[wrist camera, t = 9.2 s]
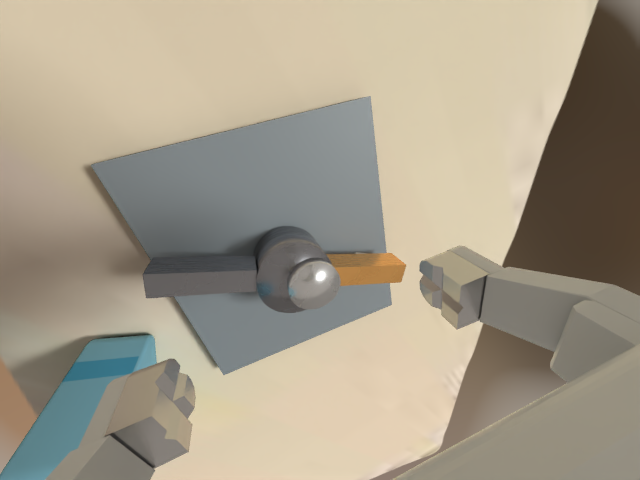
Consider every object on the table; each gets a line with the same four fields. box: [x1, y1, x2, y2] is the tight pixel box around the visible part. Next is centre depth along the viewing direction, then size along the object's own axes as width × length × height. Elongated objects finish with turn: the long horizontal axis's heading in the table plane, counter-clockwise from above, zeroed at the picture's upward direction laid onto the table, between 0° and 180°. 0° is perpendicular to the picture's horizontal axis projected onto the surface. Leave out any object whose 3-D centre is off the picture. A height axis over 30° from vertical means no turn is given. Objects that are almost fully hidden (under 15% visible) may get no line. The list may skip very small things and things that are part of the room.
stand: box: [91, 96, 392, 375], centre depth 23 cm, size 22×21×2 cm
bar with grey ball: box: [143, 226, 406, 313], centre depth 20 cm, size 20×6×5 cm, turn 83°
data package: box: [0, 335, 157, 480], centre depth 20 cm, size 12×4×12 cm, turn 170°
